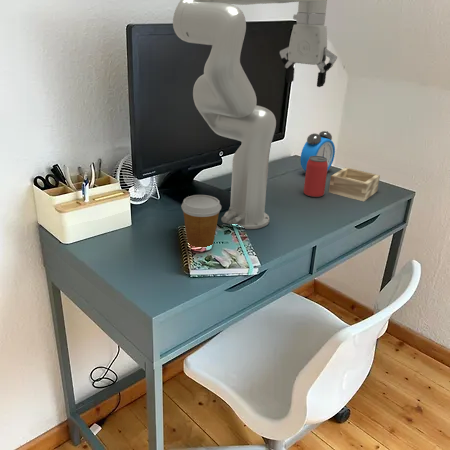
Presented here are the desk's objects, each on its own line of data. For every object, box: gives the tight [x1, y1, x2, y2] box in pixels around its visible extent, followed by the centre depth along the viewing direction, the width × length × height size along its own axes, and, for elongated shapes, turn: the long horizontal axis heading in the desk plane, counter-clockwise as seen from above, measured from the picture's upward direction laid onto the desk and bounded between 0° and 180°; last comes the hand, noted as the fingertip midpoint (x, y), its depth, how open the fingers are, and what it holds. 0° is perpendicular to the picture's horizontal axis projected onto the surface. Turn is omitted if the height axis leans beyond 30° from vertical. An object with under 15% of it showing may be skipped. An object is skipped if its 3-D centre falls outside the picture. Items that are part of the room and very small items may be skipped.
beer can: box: [303, 156, 328, 198], centre depth 157 cm, size 7×7×12 cm
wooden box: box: [328, 167, 381, 202], centre depth 162 cm, size 12×12×6 cm
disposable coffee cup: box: [180, 194, 222, 247], centre depth 120 cm, size 10×10×12 cm
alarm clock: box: [300, 130, 336, 172], centre depth 176 cm, size 13×6×15 cm, turn 135°
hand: (304, 84), depth 143 cm, fingers open, 9 cm apart
